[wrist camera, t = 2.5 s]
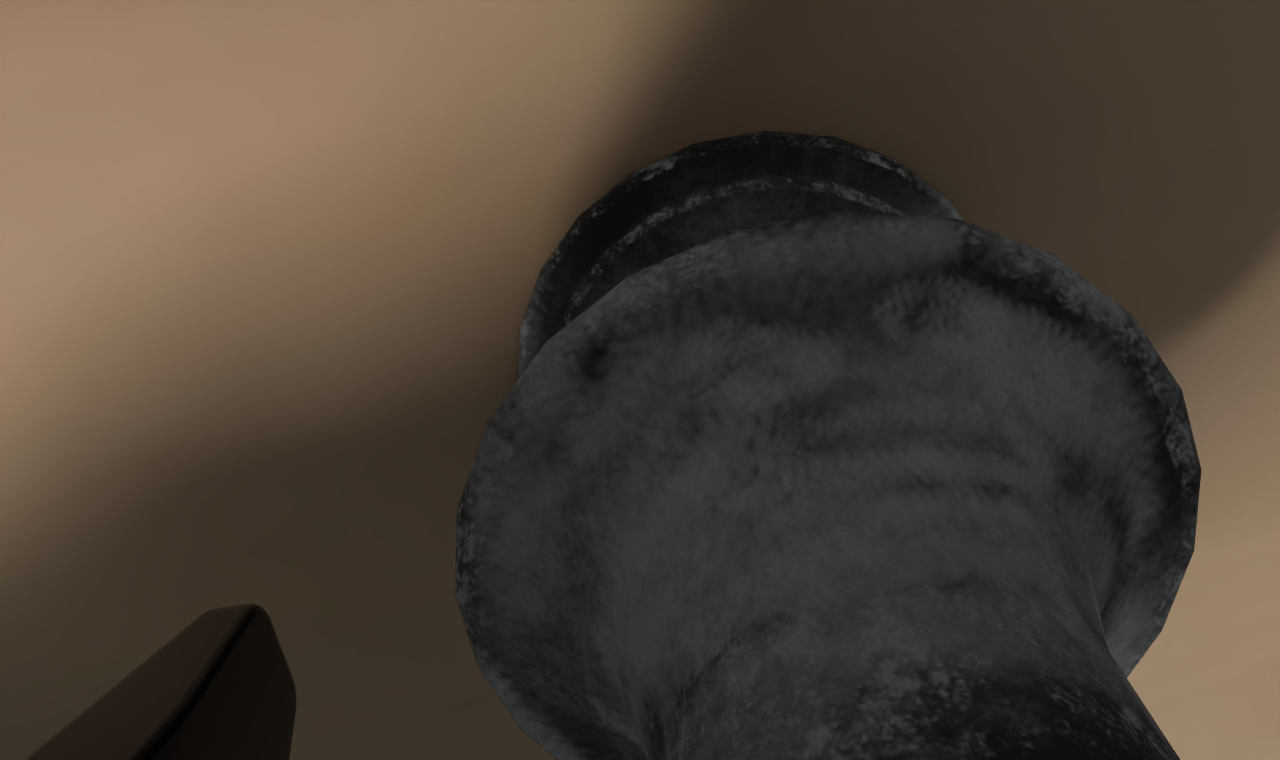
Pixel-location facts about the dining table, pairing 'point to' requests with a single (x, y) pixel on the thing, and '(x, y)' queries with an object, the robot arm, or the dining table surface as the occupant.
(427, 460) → the dining table surface
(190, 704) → the robot arm
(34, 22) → the dining table surface
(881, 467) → the salt shaker
